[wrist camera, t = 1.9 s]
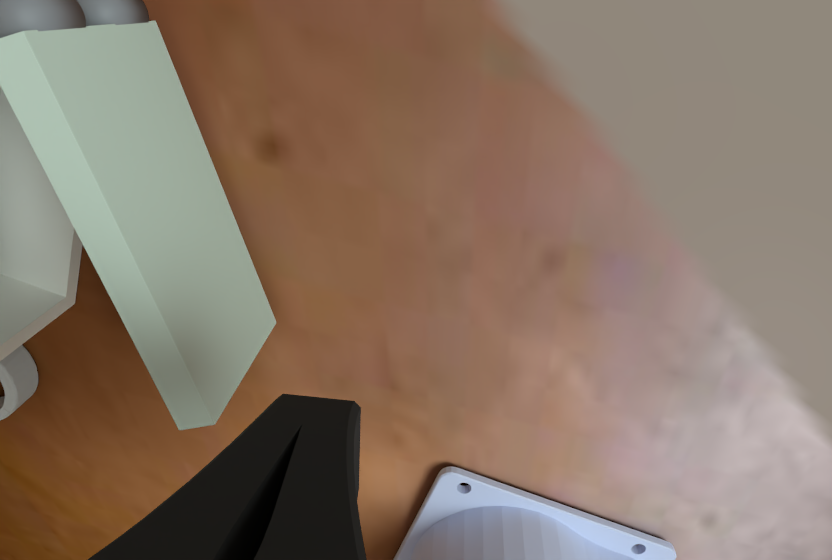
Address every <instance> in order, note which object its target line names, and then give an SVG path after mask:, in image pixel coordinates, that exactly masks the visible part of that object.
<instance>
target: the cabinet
mask: <svg viewBox="0 0 832 560" xmlns="http://www.w3.org/2000/svg"><path fill="white" fill-rule="evenodd" d="M81 252H82V242H81V240H80V238H79V236H78V234H77V232H76V230H75V229H74V227H73V225H72V223H71V221H70V219H69V217H68V215H67V213H66V211H65V209H64V207H63V205H62V203H61V202H60V200H59V198H58V196H57V194H56V192H55V190H54V188H53V186H52V184H51V182H50V180H49V178H48V176H47V175H46V173H45V171H44V169H43V167H42V165H41V163H40V161H39V159H38V157H37V155H36V153H35V151H34V149H33V148H32V146H31V144H30V142H29V140H28V138H27V136H26V134H25V132H24V130H23V128H22V126H21V124H20V122H19V121H18V119H17V117H16V115H15V113H14V111H13V109H12V107H11V105H10V103H9V101H8V99H7V97H6V96H5V94H4V92H3V90H2V88H1V86H0V361H1V360H3V359H4V358H5V357H6V356H8V355H9V354H10V353H12V352H13V351H14V350H16V349H17V348H18V347H19V346H21V345H22V344H23V343H25V342H26V341H27V340H28V339H30V338H31V337H32V336H34V335H35V334H36V333H38V332H39V331H40V330H41V329H43V328H44V327H45V326H47V325H48V324H49V323H51V322H52V321H53V320H54V319H56V318H57V317H58V316H60V315H61V314H62V313H64V312H65V311H66V310H67V309H69V308H70V307H71V306H73V305H74V304H75V300H76V292H77V284H78V276H79V268H80V260H81Z"/></svg>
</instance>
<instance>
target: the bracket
mask: <svg viewBox="0 0 832 560" xmlns="http://www.w3.org/2000/svg"><path fill="white" fill-rule="evenodd" d="M0 381H1V383H2V385H3V388H4V392H5V396H4V397H0V420H2V419H4V418H6V417H8V416H9V415H10V414H12V413H13V412H14V411H15V410H16V409H17V408H18V407H20V406H21V405H22V404H23V403H24V402H25V401H26V400H27V399H29V398H30V397H31V396H32V395H33V394H34V392H35V391H36V388H37V385H38V372H37V367H36V364H35V362H34V360H33V358H32V356H31V355H30V353H29V352H28V351H27V350H26V348H25V347H24V346H23V345H21V346H19V347H18V348H17V349H16V350H14V351H13V352H12V353H10V354H9V355H8V356H6V357H5V358H4V359H3V360H1V361H0Z"/></svg>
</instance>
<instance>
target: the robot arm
mask: <svg viewBox="0 0 832 560" xmlns="http://www.w3.org/2000/svg"><path fill="white" fill-rule="evenodd" d="M360 414H361V408H360V407H359V405H358V404H357V403H356V402H355V401H348V400H338V399H328V398H319V397H309V396H299V395H289V394H282V395H281V396H280V397H278V398H277V399H276V400H275V401H274V402H273V403H272V404H271V405H270V406H269V407H268V408H267V409H266V410H265V411H264V412H263V413H262V414H261V415H260V416H259V417H258V418H257V419H256V420H255V421H254V422H253V423H252V424H250V425H249V426H248V427H247V428H246V429H245V430H244V431H243V432H242V433H241V434H240V435H239V436H238V437H237V438H236V439H235V440H234V441H233V442H232V443H231V444H230V445H229V446H227V447H226V448H225V449H224V450H223V451H222V452H221V453H220V454H219V455H217V456H216V457H215V458H214V459H213V460H212V461H211V462H210V463H209V464H208V465H206V466H205V467H204V468H203V469H202V470H201V471H200V472H199V473H198V474H196V475H195V476H194V477H193V478H192V479H191V480H190V481H188V482H187V483H186V484H185V485H184V486H182V487H181V488H180V489H179V490H178V491H176V492H175V493H174V494H173V495H172V496H170V497H169V498H168V499H167V500H165V501H164V502H163V503H162V504H161V505H159V506H158V507H157V508H156V509H154V510H153V511H152V512H151V513H150V514H148V515H147V516H146V517H145V518H143V519H142V520H141V521H140V522H138V523H137V524H136V525H134V526H133V527H132V528H130V529H129V530H128V531H126V532H125V533H124V534H122V535H121V536H120V537H118V538H117V539H116V540H114V541H113V542H112V543H110V544H109V545H108V546H106V547H105V548H103V549H102V550H100V551H99V552H98V553H96V554H95V555H93V556H92V557H91V558H89V559H88V560H367V559H366V554H365V549H364V544H363V538H362V532H361V526H360V520H359V512H358V505H357V497H358V490H359V456H360ZM460 483H467V484H469V485H466V486H463V485H460ZM636 544H640V545H636ZM675 559H676V552H675V549H674V547H673V545H672V544H671V543H669V542H668V541H665V540H662V539H659V538H656V537H654V536H651V535H648V534H645V533H642V532H639V531H636V530H634V529H631V528H628V527H625V526H622V525H619V524H617V523H614V522H611V521H608V520H605V519H602V518H599V517H597V516H594V515H591V514H588V513H585V512H582V511H580V510H577V509H574V508H571V507H568V506H565V505H562V504H560V503H557V502H554V501H551V500H548V499H545V498H543V497H540V496H537V495H534V494H531V493H528V492H526V491H523V490H520V489H517V488H514V487H511V486H508V485H506V484H503V483H500V482H497V481H494V480H491V479H489V478H486V477H483V476H480V475H477V474H474V473H471V472H469V471H466V470H463V469H460V468H457V467H452V466H450V467H445V468H443V469H442V470H441V471H440V472H439V473H438V475H437V477H436V479H435V481H434V483H433V485H432V487H431V489H430V491H429V492H428V494H427V496H426V498H425V500H424V502H423V504H422V506H421V508H420V510H419V512H418V514H417V515H416V517H415V519H414V521H413V523H412V525H411V527H410V529H409V531H408V533H407V535H406V536H405V538H404V540H403V542H402V544H401V546H400V548H399V550H398V552H397V554H396V556H395V558H394V559H393V560H675Z"/></svg>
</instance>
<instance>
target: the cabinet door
mask: <svg viewBox="0 0 832 560" xmlns="http://www.w3.org/2000/svg"><path fill="white" fill-rule="evenodd" d="M0 86H1V88H2V90H3V92H4V94H5V96H6V97H7V99H8V101H9V103H10V105H11V107H12V109H13V111H14V113H15V115H16V117H17V119H18V121H19V122H20V124H21V126H22V128H23V130H24V132H25V134H26V136H27V138H28V140H29V142H30V144H31V146H32V148H33V149H34V151H35V153H36V155H37V157H38V159H39V161H40V163H41V165H42V167H43V169H44V171H45V173H46V175H47V176H48V178H49V180H50V182H51V184H52V186H53V188H54V190H55V192H56V194H57V196H58V198H59V200H60V202H61V203H62V205H63V207H64V209H65V211H66V213H67V215H68V217H69V219H70V221H71V223H72V225H73V227H74V229H75V230H76V232H77V234H78V236H79V238H80V240H81V242H82V244H83V246H84V248H85V250H86V252H87V254H88V256H89V257H90V259H91V261H92V263H93V265H94V267H95V269H96V271H97V273H98V275H99V277H100V279H101V281H102V282H103V284H104V286H105V288H106V290H107V292H108V294H109V296H110V298H111V300H112V302H113V304H114V306H115V308H116V309H117V311H118V313H119V315H120V317H121V319H122V321H123V323H124V325H125V327H126V329H127V331H128V333H129V335H130V336H131V338H132V340H133V342H134V344H135V346H136V348H137V350H138V352H139V354H140V356H141V358H142V360H143V362H144V363H145V365H146V367H147V369H148V371H149V373H150V375H151V377H152V379H153V381H154V383H155V385H156V387H157V389H158V390H159V392H160V394H161V396H162V398H163V400H164V402H165V404H166V406H167V408H168V410H169V412H170V414H171V416H172V417H173V419H174V421H175V423H176V425H177V427H178V429H179V430H185V429H191V428H197V427H203V426H209V425H215V423H216V422H217V420H218V419H219V417H220V415H221V414H222V412H223V410H224V409H225V407H226V405H227V404H228V402H229V400H230V399H231V397H232V395H233V394H234V392H235V390H236V389H237V387H238V385H239V384H240V382H241V380H242V379H243V377H244V376H245V374H246V372H247V371H248V369H249V367H250V366H251V364H252V362H253V361H254V359H255V357H256V356H257V354H258V352H259V351H260V349H261V347H262V346H263V344H264V342H265V341H266V339H267V337H268V336H269V334H270V333H271V331H272V329H273V328H274V326H275V324H276V320H275V318H274V315H273V313H272V310H271V308H270V305H269V303H268V300H267V298H266V295H265V293H264V290H263V288H262V285H261V283H260V280H259V278H258V275H257V273H256V270H255V268H254V265H253V263H252V260H251V258H250V255H249V253H248V250H247V248H246V245H245V243H244V240H243V238H242V235H241V233H240V230H239V228H238V225H237V223H236V220H235V218H234V215H233V213H232V210H231V208H230V205H229V203H228V200H227V198H226V195H225V193H224V190H223V188H222V185H221V183H220V180H219V178H218V175H217V173H216V170H215V168H214V165H213V163H212V160H211V158H210V155H209V153H208V150H207V148H206V145H205V143H204V140H203V138H202V135H201V133H200V130H199V128H198V125H197V123H196V120H195V118H194V115H193V113H192V111H191V108H190V106H189V103H188V101H187V98H186V96H185V93H184V91H183V88H182V86H181V83H180V81H179V78H178V76H177V73H176V71H175V68H174V66H173V63H172V61H171V58H170V56H169V53H168V51H167V48H166V46H165V43H164V41H163V38H162V36H161V33H160V31H159V28H158V26H157V23H156V21H149V15H148V11H147V8H146V6H145V4H144V2H143V1H142V0H0Z"/></svg>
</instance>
